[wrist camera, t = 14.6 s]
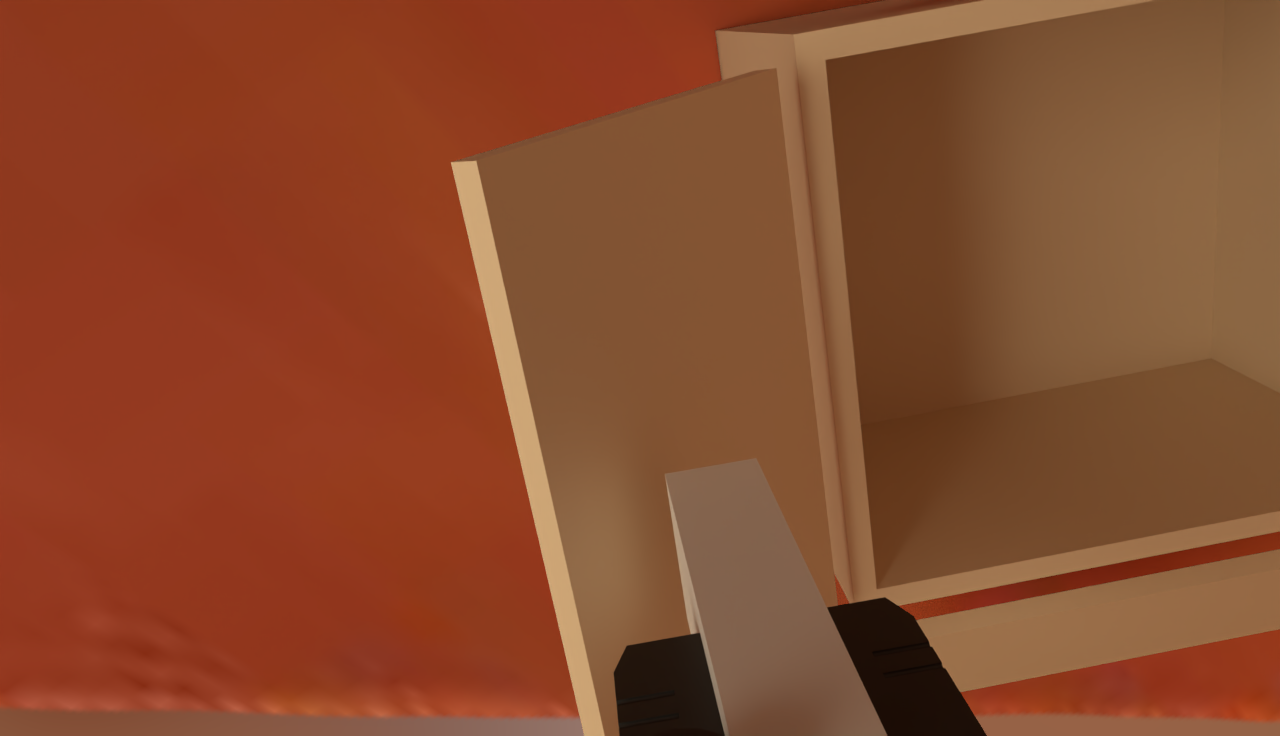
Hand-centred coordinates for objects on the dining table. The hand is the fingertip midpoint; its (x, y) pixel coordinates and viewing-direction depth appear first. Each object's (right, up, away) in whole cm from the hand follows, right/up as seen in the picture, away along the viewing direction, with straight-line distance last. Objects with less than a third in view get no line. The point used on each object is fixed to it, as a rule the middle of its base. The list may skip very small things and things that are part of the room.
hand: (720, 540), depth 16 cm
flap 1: (0, +1, +2) cm, 3 cm away
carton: (+10, +8, +16) cm, 20 cm away
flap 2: (+12, -5, +12) cm, 18 cm away
